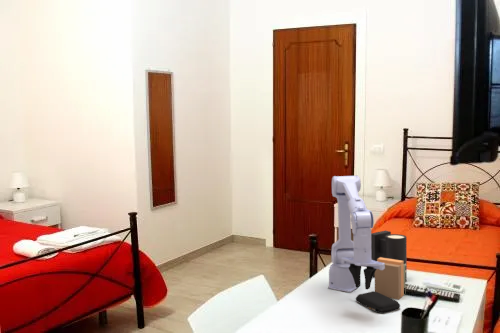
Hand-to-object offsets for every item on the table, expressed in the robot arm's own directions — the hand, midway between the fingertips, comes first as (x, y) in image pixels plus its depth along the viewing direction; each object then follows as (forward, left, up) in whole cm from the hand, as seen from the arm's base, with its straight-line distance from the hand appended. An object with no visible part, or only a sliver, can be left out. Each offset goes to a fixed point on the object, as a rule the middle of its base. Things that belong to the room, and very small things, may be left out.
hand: (362, 287), depth 171 cm
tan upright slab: (0, +24, -9) cm, 26 cm away
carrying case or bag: (0, +10, -10) cm, 14 cm away
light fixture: (-7, +41, -10) cm, 43 cm away
